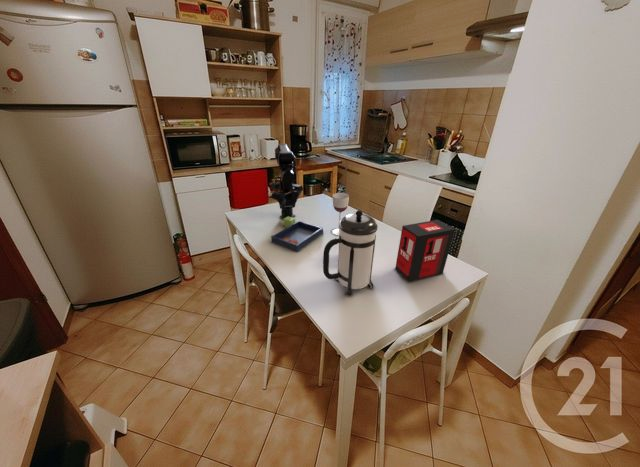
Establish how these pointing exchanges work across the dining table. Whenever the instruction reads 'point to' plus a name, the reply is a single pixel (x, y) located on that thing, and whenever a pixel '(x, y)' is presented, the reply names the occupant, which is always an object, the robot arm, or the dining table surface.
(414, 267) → the cleaning product box
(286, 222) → the sponge
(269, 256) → the dining table surface
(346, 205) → the wineglass
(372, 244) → the coffee press
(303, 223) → the tray
